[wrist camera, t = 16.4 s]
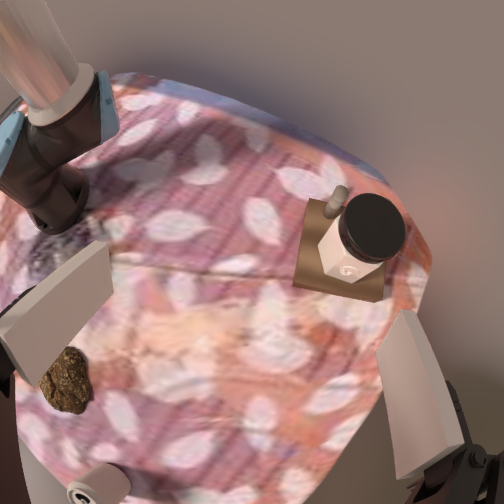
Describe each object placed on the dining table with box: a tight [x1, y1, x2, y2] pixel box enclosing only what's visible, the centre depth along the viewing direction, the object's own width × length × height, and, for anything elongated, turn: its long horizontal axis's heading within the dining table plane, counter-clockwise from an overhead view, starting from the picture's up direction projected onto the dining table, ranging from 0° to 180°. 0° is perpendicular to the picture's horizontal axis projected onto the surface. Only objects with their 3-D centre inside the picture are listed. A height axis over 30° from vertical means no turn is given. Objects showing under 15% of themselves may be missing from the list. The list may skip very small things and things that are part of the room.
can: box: [67, 463, 131, 504], centre depth 24 cm, size 8×8×12 cm
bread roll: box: [38, 347, 89, 415], centre depth 33 cm, size 13×12×5 cm
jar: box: [318, 193, 405, 283], centre depth 34 cm, size 9×8×12 cm
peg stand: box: [292, 185, 392, 303], centre depth 38 cm, size 14×14×10 cm
